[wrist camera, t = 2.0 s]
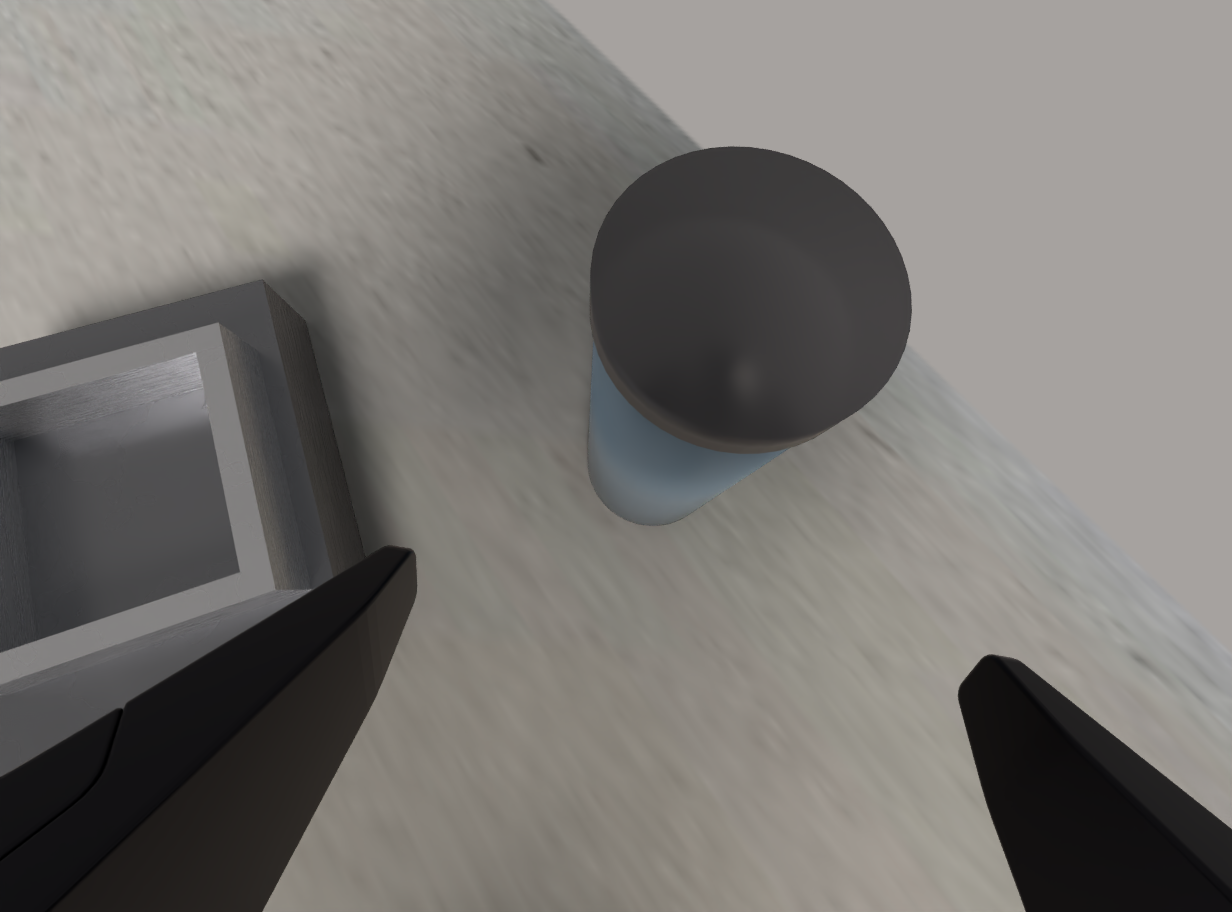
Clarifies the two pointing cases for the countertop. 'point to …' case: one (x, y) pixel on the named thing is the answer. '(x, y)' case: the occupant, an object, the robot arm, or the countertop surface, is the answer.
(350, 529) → the gray rectangular open-top holder
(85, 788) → the robot arm
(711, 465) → the capped blue cylinder
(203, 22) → the countertop surface
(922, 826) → the countertop surface
